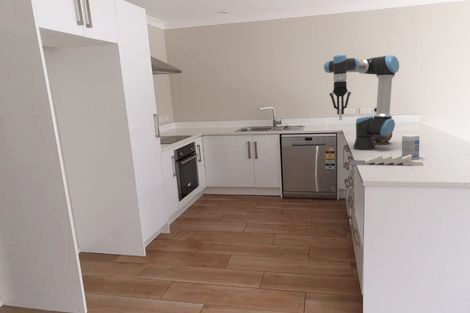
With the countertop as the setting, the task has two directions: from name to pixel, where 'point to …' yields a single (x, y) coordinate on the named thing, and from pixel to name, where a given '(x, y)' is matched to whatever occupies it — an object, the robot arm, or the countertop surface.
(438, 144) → the countertop surface
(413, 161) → the domino
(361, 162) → the mat
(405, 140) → the supplement tub
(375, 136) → the ceramic jug
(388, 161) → the domino
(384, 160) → the domino
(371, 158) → the domino
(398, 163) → the domino
